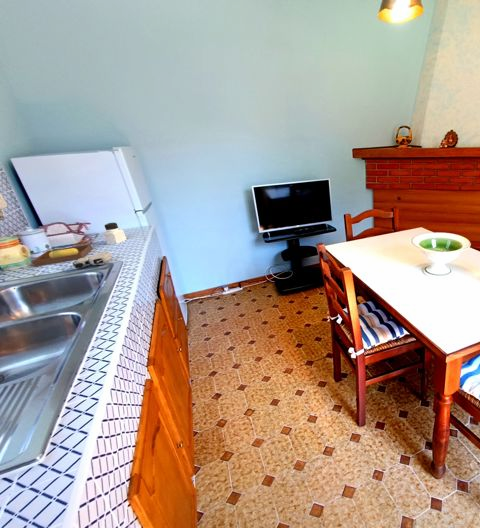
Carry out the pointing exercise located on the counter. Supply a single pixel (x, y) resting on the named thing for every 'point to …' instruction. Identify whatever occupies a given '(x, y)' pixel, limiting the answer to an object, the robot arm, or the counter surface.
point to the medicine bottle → (113, 234)
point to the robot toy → (92, 260)
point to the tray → (46, 260)
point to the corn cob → (63, 253)
